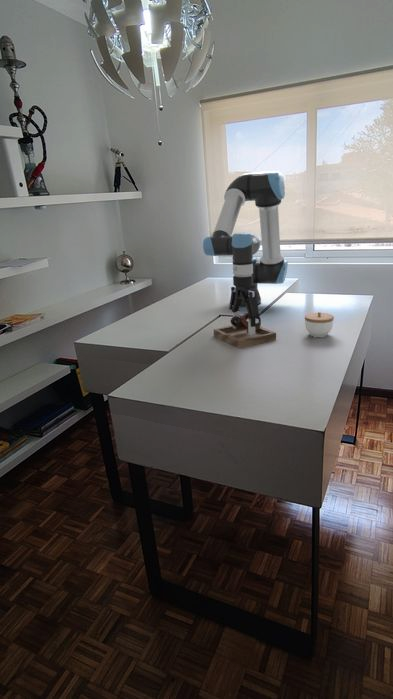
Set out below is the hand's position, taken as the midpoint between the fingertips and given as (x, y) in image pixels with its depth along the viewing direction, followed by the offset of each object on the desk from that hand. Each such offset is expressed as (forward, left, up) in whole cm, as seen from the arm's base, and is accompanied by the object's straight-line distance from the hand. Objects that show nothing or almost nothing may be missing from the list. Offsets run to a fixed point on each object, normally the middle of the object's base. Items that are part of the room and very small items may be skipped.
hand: (244, 330), depth 166 cm
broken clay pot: (-1, +1, -1) cm, 2 cm away
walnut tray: (0, 0, -3) cm, 3 cm away
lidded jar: (+15, +25, -3) cm, 29 cm away
